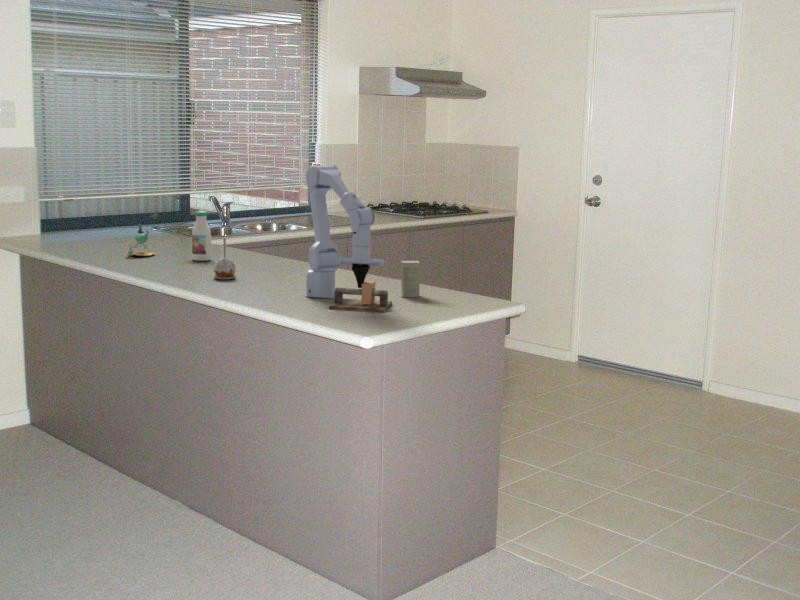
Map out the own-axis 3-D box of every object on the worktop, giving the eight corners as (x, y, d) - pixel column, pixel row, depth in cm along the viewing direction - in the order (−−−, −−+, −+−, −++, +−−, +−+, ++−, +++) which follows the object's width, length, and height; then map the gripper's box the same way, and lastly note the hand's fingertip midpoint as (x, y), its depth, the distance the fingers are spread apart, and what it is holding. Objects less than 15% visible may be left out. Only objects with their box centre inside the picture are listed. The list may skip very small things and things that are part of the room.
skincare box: (418, 295, 325) (420, 260, 323) (419, 297, 321) (420, 262, 319) (400, 295, 325) (401, 260, 323) (400, 297, 321) (401, 262, 318)
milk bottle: (202, 257, 394) (201, 210, 390) (215, 259, 390) (214, 211, 386) (188, 259, 388) (187, 211, 384) (201, 262, 384) (200, 213, 380)
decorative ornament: (239, 279, 347) (239, 239, 344) (220, 281, 342) (220, 240, 339) (229, 276, 353) (228, 236, 350) (210, 277, 348) (209, 237, 345)
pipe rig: (328, 308, 299) (328, 290, 298) (339, 301, 311) (339, 283, 310) (383, 312, 296) (384, 294, 294) (392, 304, 308) (392, 287, 307)
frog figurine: (114, 257, 390) (116, 222, 388) (149, 258, 404) (150, 223, 403) (129, 260, 384) (131, 223, 383) (163, 260, 399) (165, 225, 397)
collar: (361, 303, 300) (361, 284, 299) (365, 300, 306) (366, 280, 305) (370, 304, 299) (370, 284, 298) (374, 300, 306) (375, 281, 304)
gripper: (336, 246, 297) (335, 288, 300) (380, 248, 294) (379, 290, 297) (341, 243, 304) (341, 284, 306) (385, 245, 301) (384, 287, 304)
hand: (360, 287), depth 302 cm, fingers closed
